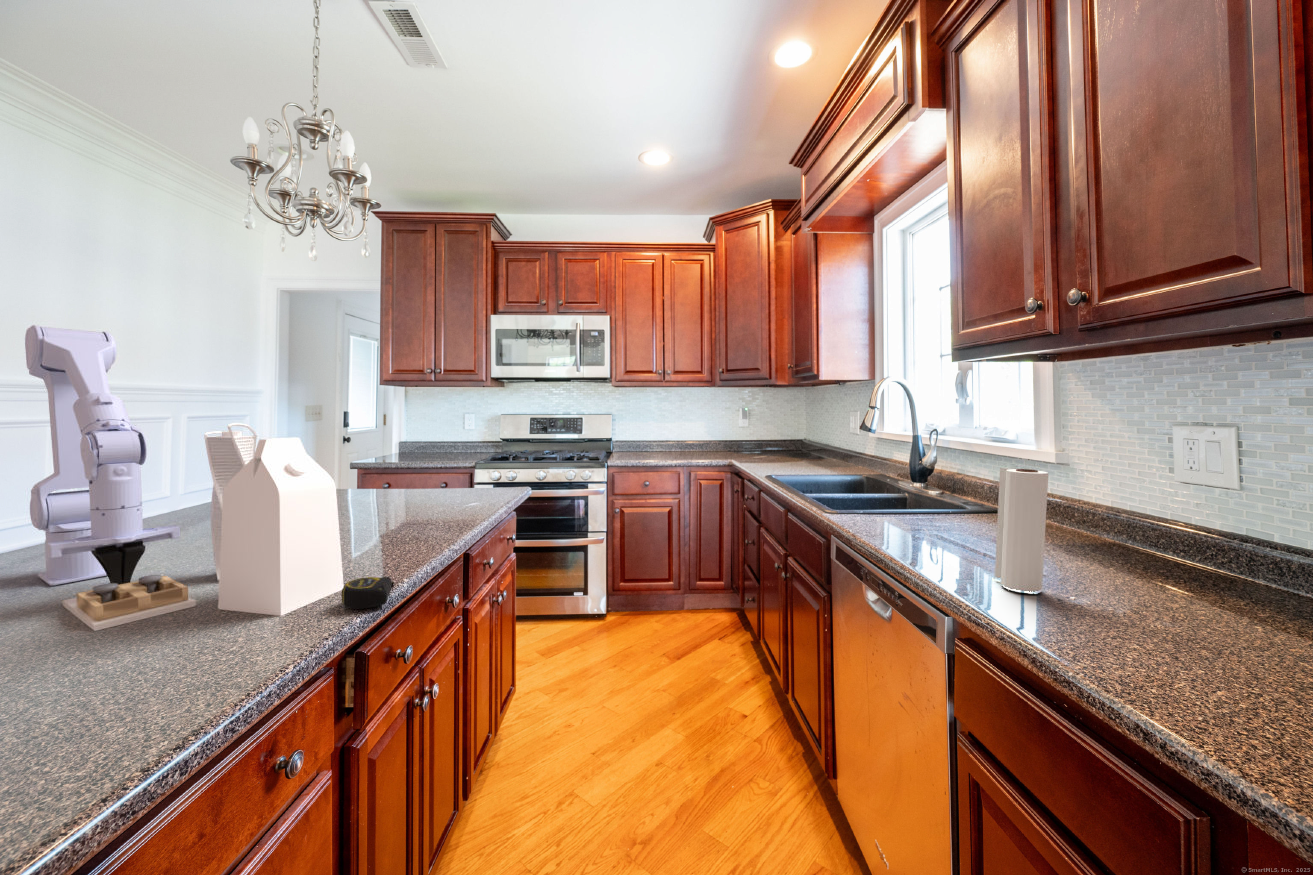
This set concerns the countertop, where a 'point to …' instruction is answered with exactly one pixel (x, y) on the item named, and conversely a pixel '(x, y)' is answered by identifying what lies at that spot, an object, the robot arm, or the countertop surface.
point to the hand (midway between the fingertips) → (120, 591)
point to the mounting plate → (106, 597)
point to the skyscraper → (225, 472)
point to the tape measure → (366, 592)
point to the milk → (279, 532)
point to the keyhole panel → (132, 598)
